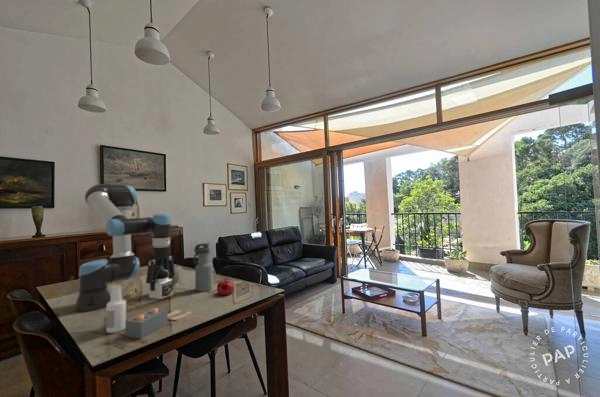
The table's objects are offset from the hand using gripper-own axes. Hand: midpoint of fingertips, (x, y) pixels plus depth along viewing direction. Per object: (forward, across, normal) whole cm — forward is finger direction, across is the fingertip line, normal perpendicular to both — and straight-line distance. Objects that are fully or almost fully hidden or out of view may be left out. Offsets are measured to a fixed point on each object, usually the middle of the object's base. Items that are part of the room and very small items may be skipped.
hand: (161, 294), depth 125 cm
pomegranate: (+9, +33, -14) cm, 37 cm away
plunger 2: (+7, -11, -8) cm, 16 cm away
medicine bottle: (+1, 0, 0) cm, 1 cm away
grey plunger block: (+9, -15, -8) cm, 19 cm away
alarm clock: (+10, +25, +21) cm, 34 cm away
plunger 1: (+7, -18, -8) cm, 21 cm away
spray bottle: (+9, -18, +5) cm, 21 cm away
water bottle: (+10, +37, +4) cm, 39 cm away
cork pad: (+9, 0, -9) cm, 13 cm away
